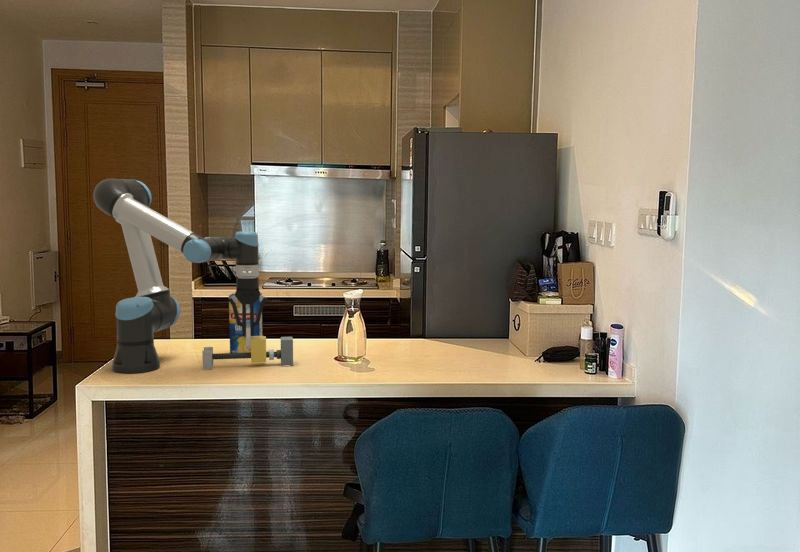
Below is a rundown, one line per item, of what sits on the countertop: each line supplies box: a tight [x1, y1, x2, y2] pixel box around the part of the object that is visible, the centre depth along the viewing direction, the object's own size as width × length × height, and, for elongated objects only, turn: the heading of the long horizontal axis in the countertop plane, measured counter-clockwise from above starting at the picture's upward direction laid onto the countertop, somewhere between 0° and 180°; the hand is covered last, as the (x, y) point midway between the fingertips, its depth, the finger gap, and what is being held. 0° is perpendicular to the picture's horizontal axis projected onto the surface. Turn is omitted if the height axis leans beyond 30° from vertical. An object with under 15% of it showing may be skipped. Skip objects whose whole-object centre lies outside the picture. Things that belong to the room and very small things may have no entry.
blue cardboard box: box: [228, 292, 263, 353], centre depth 269 cm, size 7×11×22 cm, turn 92°
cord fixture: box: [201, 336, 294, 371], centre depth 250 cm, size 30×8×9 cm, turn 101°
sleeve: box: [250, 335, 267, 364], centre depth 251 cm, size 5×6×8 cm
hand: (248, 345), depth 250 cm, fingers closed
